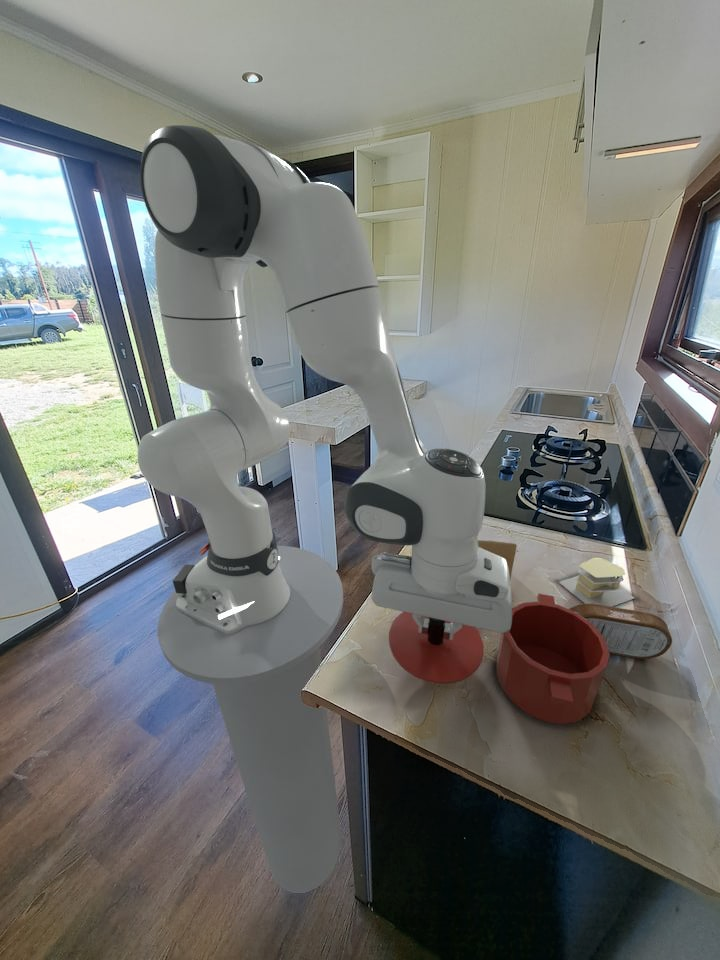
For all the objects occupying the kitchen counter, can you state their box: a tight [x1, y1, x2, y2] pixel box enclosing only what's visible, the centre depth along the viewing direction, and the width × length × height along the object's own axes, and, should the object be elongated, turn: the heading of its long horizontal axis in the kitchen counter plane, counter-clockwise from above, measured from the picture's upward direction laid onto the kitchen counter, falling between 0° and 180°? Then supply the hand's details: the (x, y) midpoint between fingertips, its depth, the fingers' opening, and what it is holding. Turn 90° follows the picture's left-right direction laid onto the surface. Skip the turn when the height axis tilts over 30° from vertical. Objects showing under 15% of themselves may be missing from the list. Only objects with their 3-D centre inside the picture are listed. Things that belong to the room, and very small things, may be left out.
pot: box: [495, 593, 611, 725], centre depth 57 cm, size 14×19×10 cm
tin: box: [568, 603, 673, 660], centre depth 62 cm, size 15×3×8 cm, turn 73°
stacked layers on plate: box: [558, 557, 636, 607], centre depth 75 cm, size 10×9×6 cm
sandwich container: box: [477, 539, 518, 580], centre depth 77 cm, size 9×15×15 cm, turn 168°
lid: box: [388, 611, 485, 685], centre depth 59 cm, size 15×15×6 cm
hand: (436, 633), depth 60 cm, fingers closed on lid, 2 cm apart
